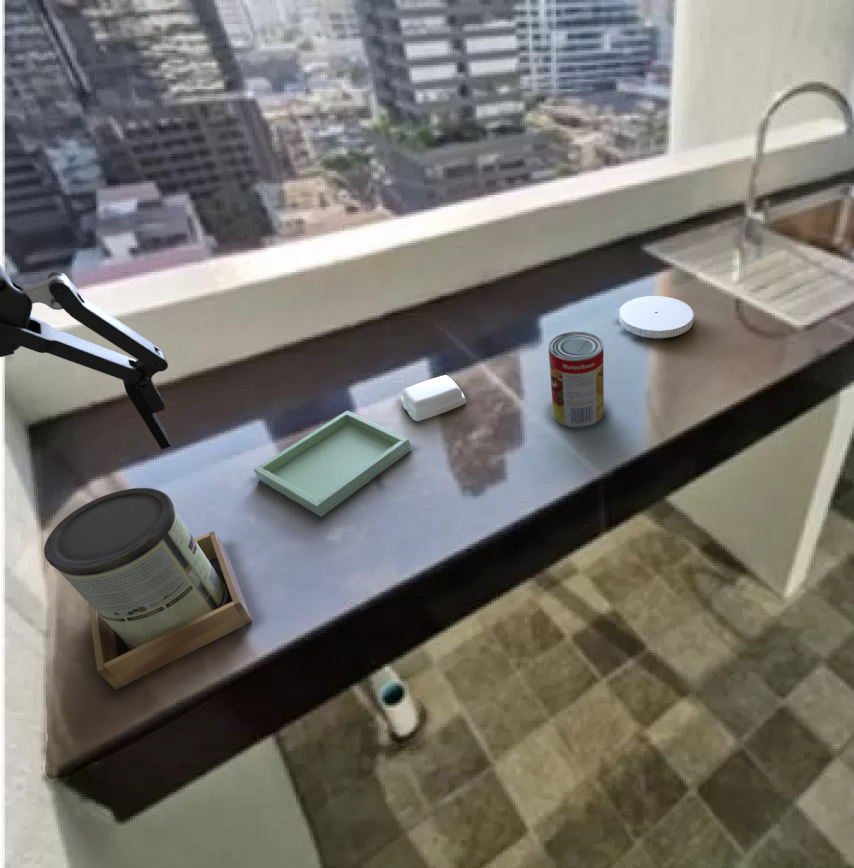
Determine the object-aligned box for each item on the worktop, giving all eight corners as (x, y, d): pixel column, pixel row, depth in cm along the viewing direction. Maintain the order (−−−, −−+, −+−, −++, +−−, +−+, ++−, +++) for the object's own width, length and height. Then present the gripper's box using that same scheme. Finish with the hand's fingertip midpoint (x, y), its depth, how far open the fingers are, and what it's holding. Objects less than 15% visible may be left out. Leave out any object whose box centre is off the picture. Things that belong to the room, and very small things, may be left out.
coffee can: (104, 622, 65) (24, 534, 56) (200, 560, 72) (142, 473, 63) (148, 674, 60) (69, 587, 51) (247, 603, 67) (191, 515, 58)
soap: (414, 423, 92) (411, 407, 90) (399, 401, 96) (395, 386, 94) (469, 403, 96) (466, 388, 94) (451, 383, 100) (448, 368, 98)
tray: (321, 517, 77) (316, 506, 76) (258, 480, 82) (253, 469, 81) (411, 449, 87) (408, 439, 86) (350, 420, 93) (347, 410, 91)
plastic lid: (611, 338, 111) (612, 326, 110) (627, 304, 122) (627, 292, 120) (687, 346, 109) (688, 334, 107) (696, 311, 119) (697, 299, 118)
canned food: (594, 393, 98) (593, 327, 90) (610, 421, 92) (610, 353, 84) (547, 402, 96) (542, 336, 88) (560, 432, 90) (556, 363, 82)
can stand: (116, 690, 59) (96, 671, 57) (102, 604, 67) (85, 584, 65) (252, 621, 65) (240, 602, 63) (225, 549, 73) (214, 530, 71)
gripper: (112, 183, 48) (221, 399, 61) (-374, 264, 36) (-108, 509, 50) (124, 209, 43) (238, 436, 57) (-429, 311, 32) (-120, 567, 45)
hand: (77, 471), depth 53 cm, fingers open, 13 cm apart
